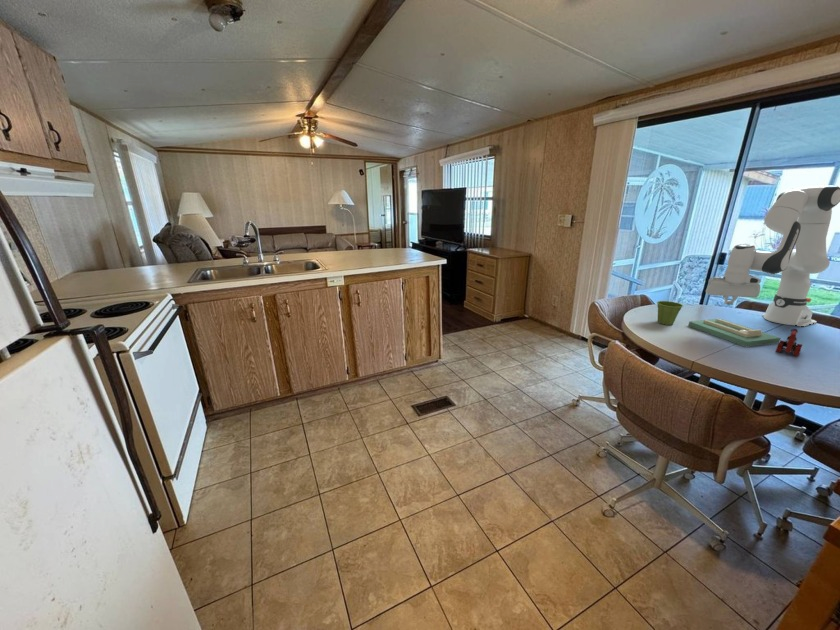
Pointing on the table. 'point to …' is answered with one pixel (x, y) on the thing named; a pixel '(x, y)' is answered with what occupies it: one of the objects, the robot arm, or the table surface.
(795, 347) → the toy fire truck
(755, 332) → the putting mat
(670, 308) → the plant pot
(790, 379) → the table surface
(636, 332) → the table surface
